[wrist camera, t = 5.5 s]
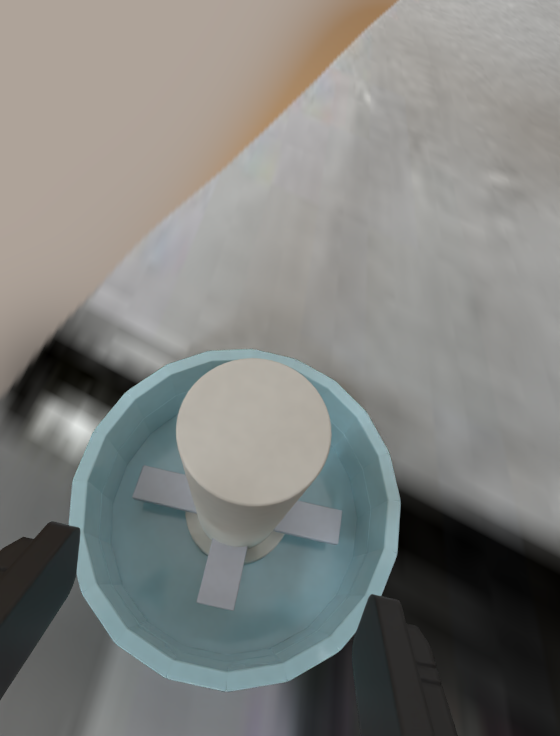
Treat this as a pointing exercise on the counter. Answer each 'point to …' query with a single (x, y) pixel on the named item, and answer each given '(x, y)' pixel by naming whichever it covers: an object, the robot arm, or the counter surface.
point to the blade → (246, 469)
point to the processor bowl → (187, 562)
